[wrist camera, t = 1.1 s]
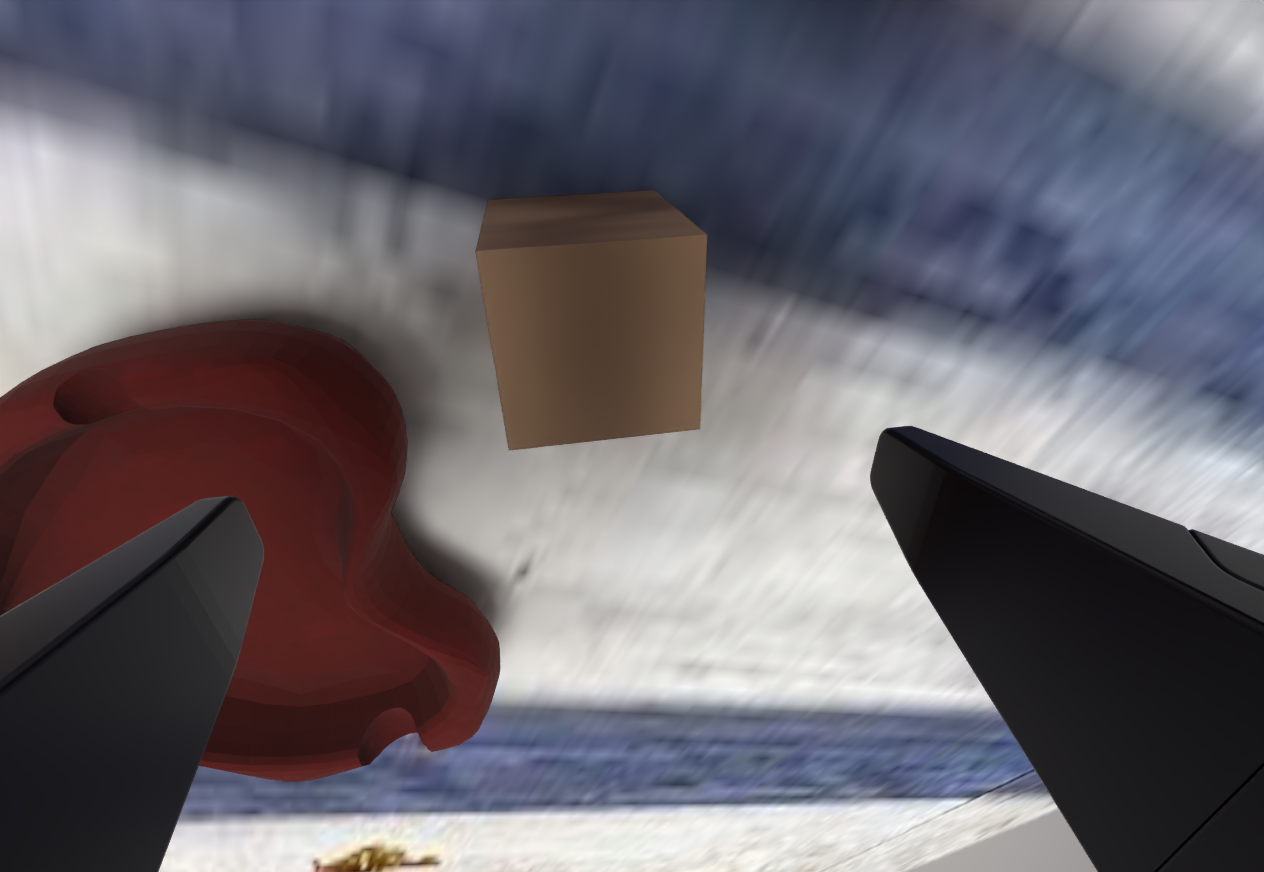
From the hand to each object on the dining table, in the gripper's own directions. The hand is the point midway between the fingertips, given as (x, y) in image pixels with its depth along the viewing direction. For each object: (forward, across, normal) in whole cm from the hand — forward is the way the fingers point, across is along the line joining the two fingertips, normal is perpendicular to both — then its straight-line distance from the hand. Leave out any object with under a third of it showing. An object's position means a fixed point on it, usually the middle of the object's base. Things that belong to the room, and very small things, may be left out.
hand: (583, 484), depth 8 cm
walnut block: (+12, -1, +1) cm, 12 cm away
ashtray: (+12, +12, +10) cm, 20 cm away
